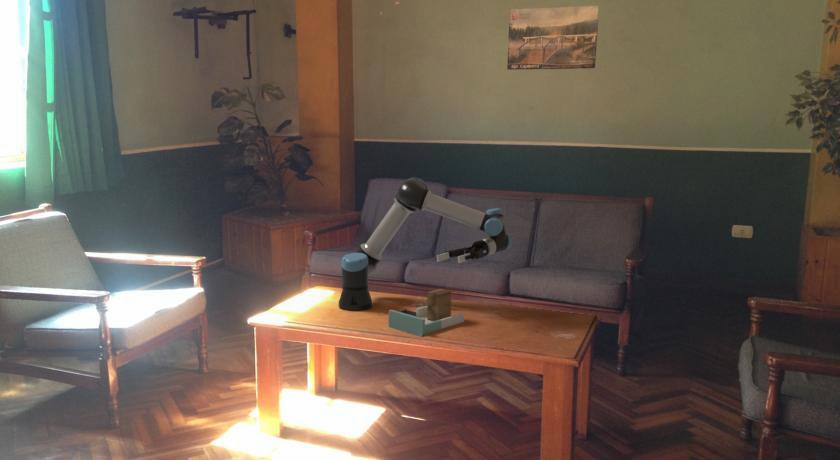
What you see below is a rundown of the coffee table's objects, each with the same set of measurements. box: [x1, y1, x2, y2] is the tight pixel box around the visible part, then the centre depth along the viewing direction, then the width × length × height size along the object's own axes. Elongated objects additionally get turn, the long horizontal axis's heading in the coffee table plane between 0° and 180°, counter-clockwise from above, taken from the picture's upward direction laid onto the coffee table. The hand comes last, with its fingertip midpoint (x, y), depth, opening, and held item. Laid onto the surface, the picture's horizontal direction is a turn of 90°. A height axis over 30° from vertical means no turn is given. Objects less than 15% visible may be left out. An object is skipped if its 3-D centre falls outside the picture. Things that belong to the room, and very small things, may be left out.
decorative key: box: [411, 299, 427, 308], centre depth 319 cm, size 7×1×20 cm
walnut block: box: [426, 288, 452, 322], centre depth 299 cm, size 6×8×12 cm
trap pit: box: [398, 309, 416, 316], centre depth 302 cm, size 6×9×3 cm
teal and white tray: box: [388, 306, 465, 338], centre depth 294 cm, size 19×25×7 cm
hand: (447, 259), depth 303 cm, fingers open, 13 cm apart
